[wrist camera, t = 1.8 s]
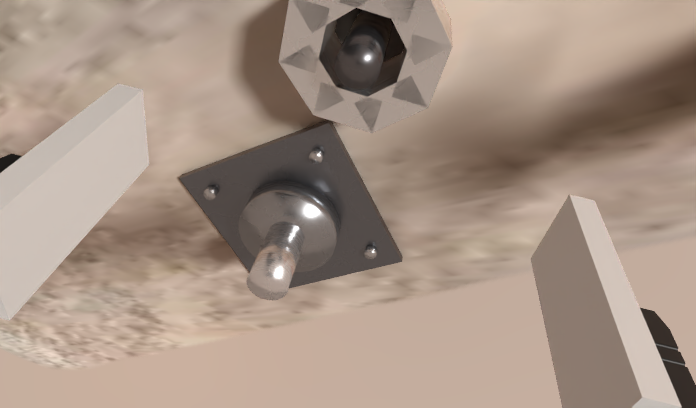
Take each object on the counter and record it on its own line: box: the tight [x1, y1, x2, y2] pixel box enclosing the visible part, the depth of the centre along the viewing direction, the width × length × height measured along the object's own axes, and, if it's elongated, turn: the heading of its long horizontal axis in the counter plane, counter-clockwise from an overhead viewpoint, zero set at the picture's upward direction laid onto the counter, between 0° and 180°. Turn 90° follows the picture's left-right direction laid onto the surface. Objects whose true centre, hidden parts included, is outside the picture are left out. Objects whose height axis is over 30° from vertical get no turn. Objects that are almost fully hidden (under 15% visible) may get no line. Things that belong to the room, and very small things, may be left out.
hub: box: [179, 120, 402, 300], centre depth 38 cm, size 14×14×8 cm
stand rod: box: [334, 10, 391, 90], centre depth 28 cm, size 2×2×7 cm
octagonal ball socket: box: [279, 0, 452, 133], centre depth 29 cm, size 9×9×5 cm
